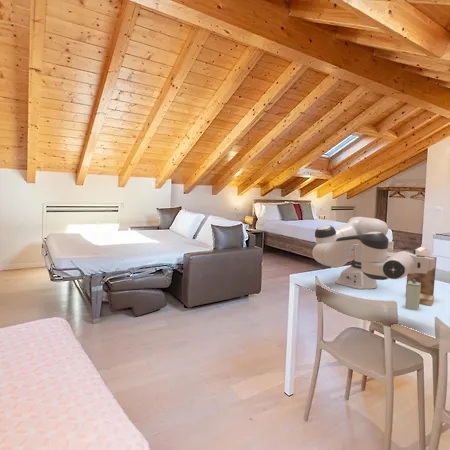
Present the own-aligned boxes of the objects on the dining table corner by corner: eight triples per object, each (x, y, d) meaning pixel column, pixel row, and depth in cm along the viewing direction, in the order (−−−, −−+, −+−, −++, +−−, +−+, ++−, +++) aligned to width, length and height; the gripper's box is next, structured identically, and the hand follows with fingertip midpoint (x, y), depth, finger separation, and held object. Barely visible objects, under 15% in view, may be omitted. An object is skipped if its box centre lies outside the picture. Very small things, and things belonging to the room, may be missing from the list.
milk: (417, 282, 202) (420, 246, 199) (413, 279, 208) (415, 244, 205) (428, 283, 201) (431, 246, 199) (423, 280, 207) (426, 244, 205)
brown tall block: (402, 300, 171) (405, 257, 169) (408, 292, 184) (411, 252, 181) (430, 306, 164) (434, 261, 161) (436, 297, 176) (439, 255, 173)
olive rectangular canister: (405, 308, 161) (407, 279, 159) (407, 305, 165) (409, 277, 163) (417, 310, 158) (419, 281, 156) (419, 307, 162) (421, 279, 160)
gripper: (375, 266, 145) (384, 260, 156) (431, 274, 132) (436, 268, 143) (376, 251, 144) (385, 246, 155) (432, 258, 131) (438, 253, 142)
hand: (410, 257), depth 149 cm, fingers open, 8 cm apart
